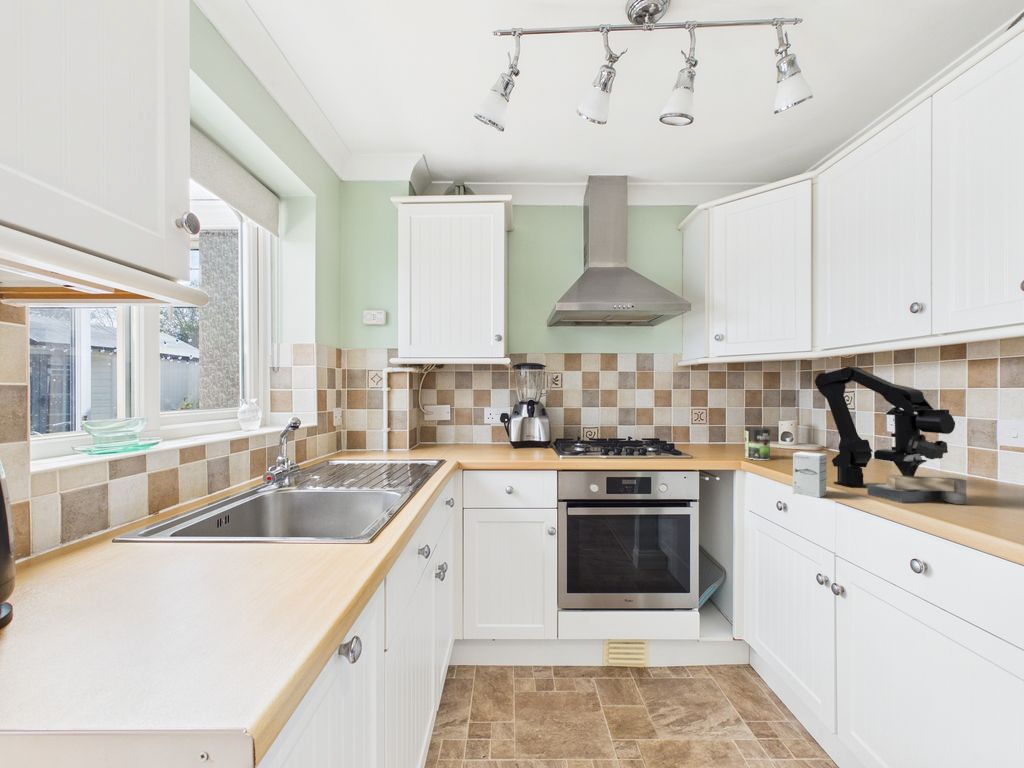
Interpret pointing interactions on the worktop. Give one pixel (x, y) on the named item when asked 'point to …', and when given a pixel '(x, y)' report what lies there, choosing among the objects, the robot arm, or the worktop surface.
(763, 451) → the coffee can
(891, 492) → the slab
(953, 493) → the notched beige block
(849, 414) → the robot arm
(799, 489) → the supplement box
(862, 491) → the worktop surface
